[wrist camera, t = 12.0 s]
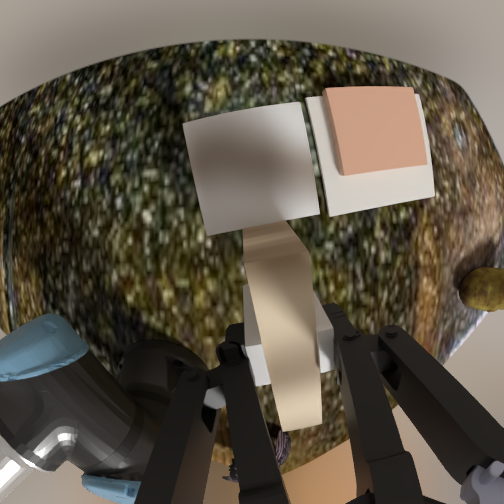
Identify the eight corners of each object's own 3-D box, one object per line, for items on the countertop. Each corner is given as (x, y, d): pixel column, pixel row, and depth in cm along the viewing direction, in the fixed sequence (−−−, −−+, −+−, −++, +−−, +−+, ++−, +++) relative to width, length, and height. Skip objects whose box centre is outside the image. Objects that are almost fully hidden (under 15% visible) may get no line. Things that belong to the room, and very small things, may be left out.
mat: (328, 215, 31) (329, 216, 30) (304, 98, 27) (306, 97, 26) (432, 195, 30) (434, 196, 30) (416, 94, 26) (418, 94, 25)
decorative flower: (286, 490, 39) (220, 501, 32) (262, 457, 49) (201, 460, 43) (317, 448, 39) (246, 458, 32) (286, 414, 49) (221, 414, 43)
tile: (344, 175, 27) (325, 88, 24) (339, 175, 29) (321, 91, 26) (427, 164, 27) (412, 87, 24) (420, 164, 28) (406, 89, 25)
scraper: (329, 356, 21) (353, 414, 15) (246, 373, 21) (249, 436, 15) (297, 103, 15) (331, 72, 8) (184, 124, 15) (151, 103, 9)
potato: (468, 250, 33) (500, 268, 26) (500, 265, 35) (526, 281, 27) (449, 296, 36) (477, 319, 28) (483, 304, 37) (508, 324, 30)
